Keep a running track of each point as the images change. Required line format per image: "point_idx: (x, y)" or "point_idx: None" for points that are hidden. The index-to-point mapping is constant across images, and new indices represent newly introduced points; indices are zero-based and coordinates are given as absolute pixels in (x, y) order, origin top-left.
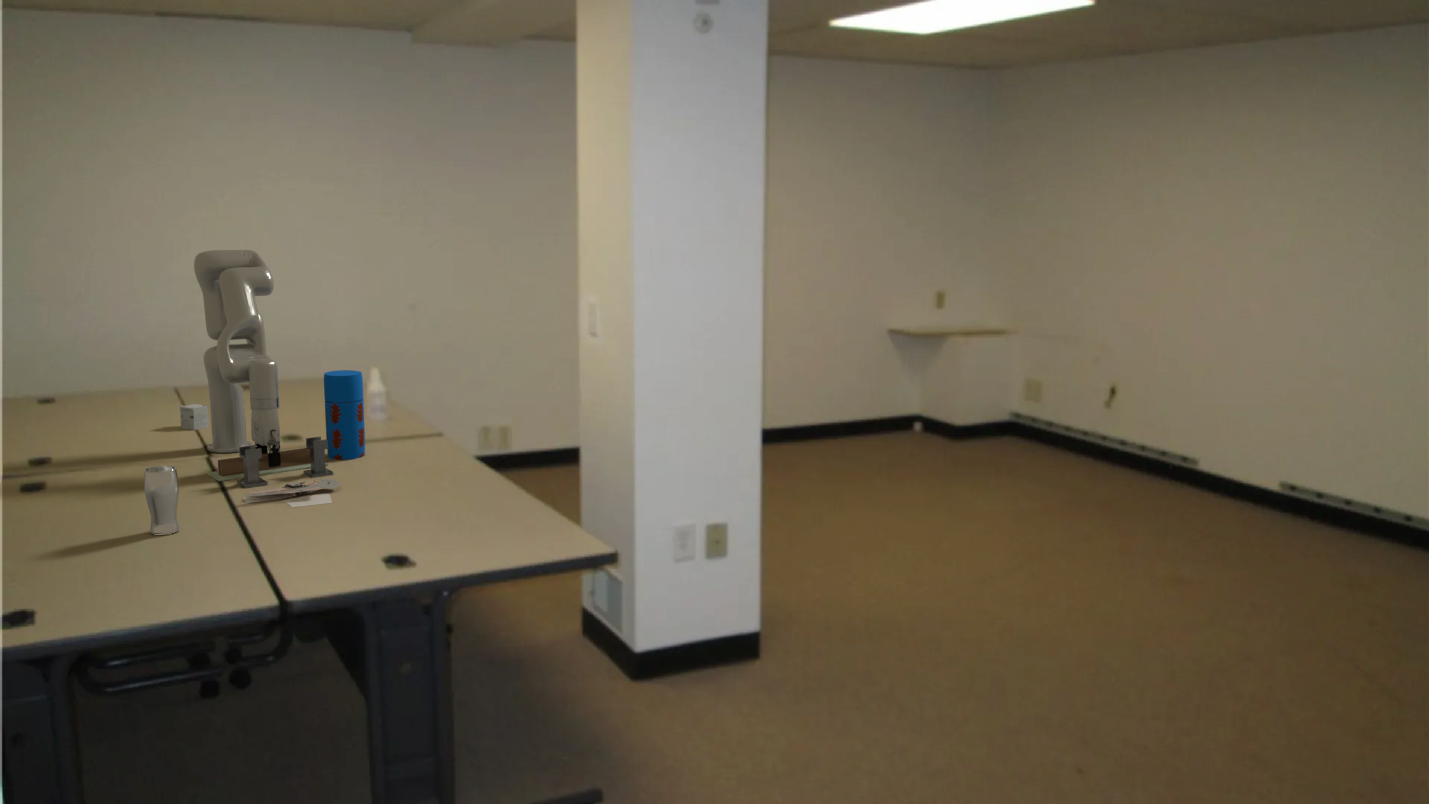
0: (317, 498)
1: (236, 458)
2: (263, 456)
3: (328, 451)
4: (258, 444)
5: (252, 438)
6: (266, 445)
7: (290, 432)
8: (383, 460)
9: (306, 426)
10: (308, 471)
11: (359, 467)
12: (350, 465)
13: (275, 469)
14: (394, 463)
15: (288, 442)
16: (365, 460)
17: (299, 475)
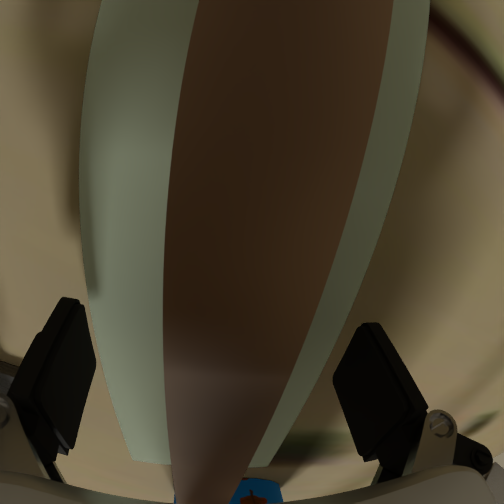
0: None
1: (319, 47)
2: (164, 366)
3: (239, 496)
4: (411, 442)
5: (456, 492)
6: (370, 459)
7: (493, 423)
8: (119, 494)
9: (484, 438)
10: (9, 382)
11: (66, 462)
12: (99, 467)
13: (150, 331)
14: (80, 487)
15: (467, 423)
16: (141, 490)
17: (4, 344)
